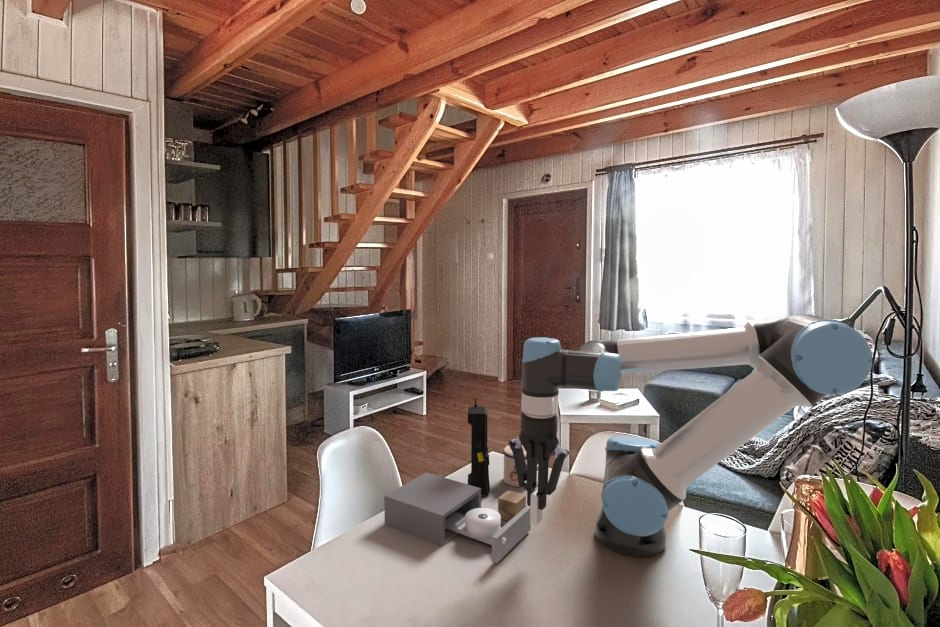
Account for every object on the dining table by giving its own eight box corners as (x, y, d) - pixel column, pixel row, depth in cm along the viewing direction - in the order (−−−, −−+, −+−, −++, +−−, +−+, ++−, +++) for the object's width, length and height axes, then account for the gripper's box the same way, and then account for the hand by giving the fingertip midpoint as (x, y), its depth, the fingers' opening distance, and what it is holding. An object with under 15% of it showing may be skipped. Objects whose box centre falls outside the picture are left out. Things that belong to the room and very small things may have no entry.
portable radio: (490, 498, 133) (490, 405, 130) (467, 497, 133) (467, 405, 130) (489, 484, 140) (490, 397, 138) (468, 484, 141) (468, 397, 138)
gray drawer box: (480, 515, 123) (481, 488, 123) (442, 546, 110) (442, 515, 109) (426, 497, 133) (426, 472, 132) (384, 524, 119) (384, 495, 118)
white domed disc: (506, 526, 115) (507, 513, 114) (488, 542, 108) (489, 529, 108) (477, 516, 119) (477, 504, 119) (458, 531, 112) (458, 518, 112)
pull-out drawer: (532, 530, 115) (532, 508, 115) (498, 564, 102) (499, 539, 102) (466, 509, 125) (466, 488, 125) (428, 537, 112) (428, 514, 112)
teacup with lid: (508, 489, 138) (509, 448, 137) (498, 475, 146) (499, 437, 145) (549, 484, 141) (550, 444, 140) (536, 471, 150) (537, 433, 148)
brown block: (525, 514, 124) (526, 495, 123) (516, 523, 120) (516, 503, 119) (507, 509, 127) (508, 490, 126) (498, 517, 122) (498, 497, 122)
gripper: (576, 414, 103) (571, 523, 105) (519, 403, 110) (516, 506, 112) (561, 423, 97) (557, 539, 99) (502, 411, 104) (500, 520, 106)
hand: (535, 521), depth 106 cm, fingers closed
